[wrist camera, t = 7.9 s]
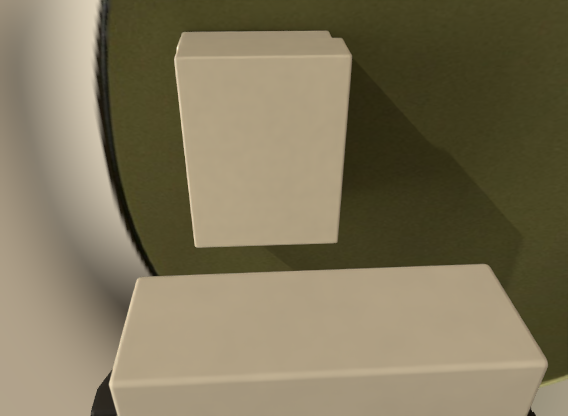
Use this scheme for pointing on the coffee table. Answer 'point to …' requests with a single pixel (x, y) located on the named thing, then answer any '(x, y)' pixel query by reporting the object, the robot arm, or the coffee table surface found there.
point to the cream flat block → (326, 345)
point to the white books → (263, 135)
